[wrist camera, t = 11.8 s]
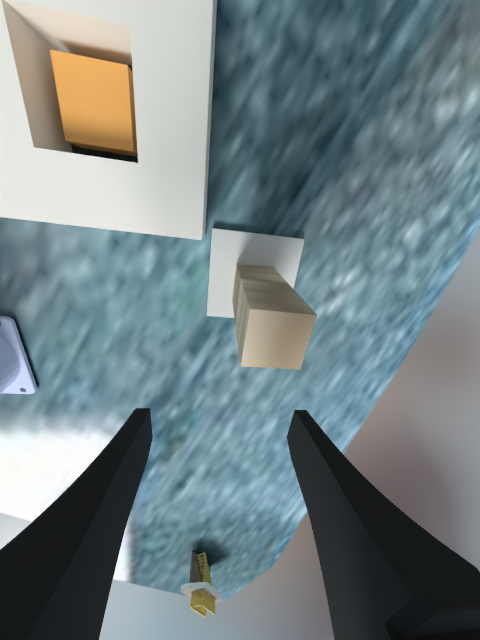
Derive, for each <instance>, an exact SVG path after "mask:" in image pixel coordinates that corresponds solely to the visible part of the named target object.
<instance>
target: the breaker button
mask: <svg viewBox="0 0 480 640" xmlns="http://www.w3.org/2000/svg"><path fill="white" fill-rule="evenodd" d="M50 53H51V59H52V65H53V71H54V77H55V83H56V89H57V95H58V100H59V106H60V112H61V118H62V124H63V130H64V136H65V141H67V142H69V143H72V144H74V145H76V146H79V147H81V148H84V149H90V150H97V151H103V152H110V153H116V154H123V155H129V156H136V157H138V152H137V135H136V119H135V103H134V86H133V73H132V71H131V69H130V68H129V66H128V65H125V64H120V63H115V62H110V61H105V60H100V59H95V58H90V57H85V56H80V55H75V54H70V53H65V52H60V51H55V50H50Z"/></svg>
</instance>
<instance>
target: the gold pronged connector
mask: <svg viewBox="0 0 480 640" xmlns="http://www.w3.org/2000/svg"><path fill="white" fill-rule="evenodd" d="M202 555H204V556H203V557H200V556H202ZM206 557H207V556H206V553H205V552H204V553H201V554H196V553H195V552H194V551H192V557H191V570H190V582H189V583H187V584H183V585H182V586H181V592H183V593H184V594H185V595H187V596H188V597H190V598H191V607H190V608H191V609H193V610H194V611H196V612H197V613H199V614H200V615H202V616H204V617H206V610H208V611H209V612H211V613H212V614H214V615H215V605H216V604H218V603H219V602H220V601H222V594H220V593H219V592H218V591H217V590H216V589H215V588H213V587H212V581H211V577H210V566H209V565H208V563H207V559H206ZM202 559H204V560H202Z"/></svg>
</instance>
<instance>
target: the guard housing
mask: <svg viewBox="0 0 480 640" xmlns="http://www.w3.org/2000/svg"><path fill="white" fill-rule="evenodd" d="M216 14H217V0H0V217H5V218H14V219H22V220H31V221H40V222H49V223H57V224H66V225H75V226H84V227H92V228H101V229H110V230H119V231H127V232H136V233H145V234H153V235H162V236H171V237H180V238H188V239H197V240H202V239H203V237H204V236H205V231H206V211H207V191H208V172H209V152H210V132H211V113H212V93H213V73H214V54H215V34H216ZM50 50H55V51H56V50H57V51H62V52H67V53H72V54H77V55H82V56H87V57H92V58H97V59H102V60H107V61H112V62H117V63H122V64H127V65H132V70H133V86H134V103H135V119H136V135H137V152H138V163H135V162H128V161H122V160H115V159H108V158H102V157H95V156H88V155H82V154H75V153H73V152H72V146H71V143H69V142H67V141H65V136H64V130H63V124H62V118H61V112H60V106H59V100H58V95H57V89H56V83H55V77H54V71H53V65H52V59H51V53H50Z"/></svg>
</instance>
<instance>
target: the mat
mask: <svg viewBox="0 0 480 640" xmlns="http://www.w3.org/2000/svg"><path fill="white" fill-rule="evenodd" d="M304 241H305V240H304V239H300V238H292V237H284V236H276V235H267V234H259V233H251V232H243V231H235V230H226V229H218V228H212V241H211V257H210V273H209V289H208V305H207V316H217V317H230V318H234V311H233V303H232V294H233V286H234V278H235V270H236V263H240V264H249V265H258V266H266V267H274V268H275V269H276V270H277V271H278V273H279V274H280V275H281V276H282V277H283V278H284V279H285V280H286V281H287V283H288V284H289V285H290V286H291V287H292V288H294V284H295V280H296V275H297V271H298V267H299V262H300V258H301V254H302V249H303V245H304Z"/></svg>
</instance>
